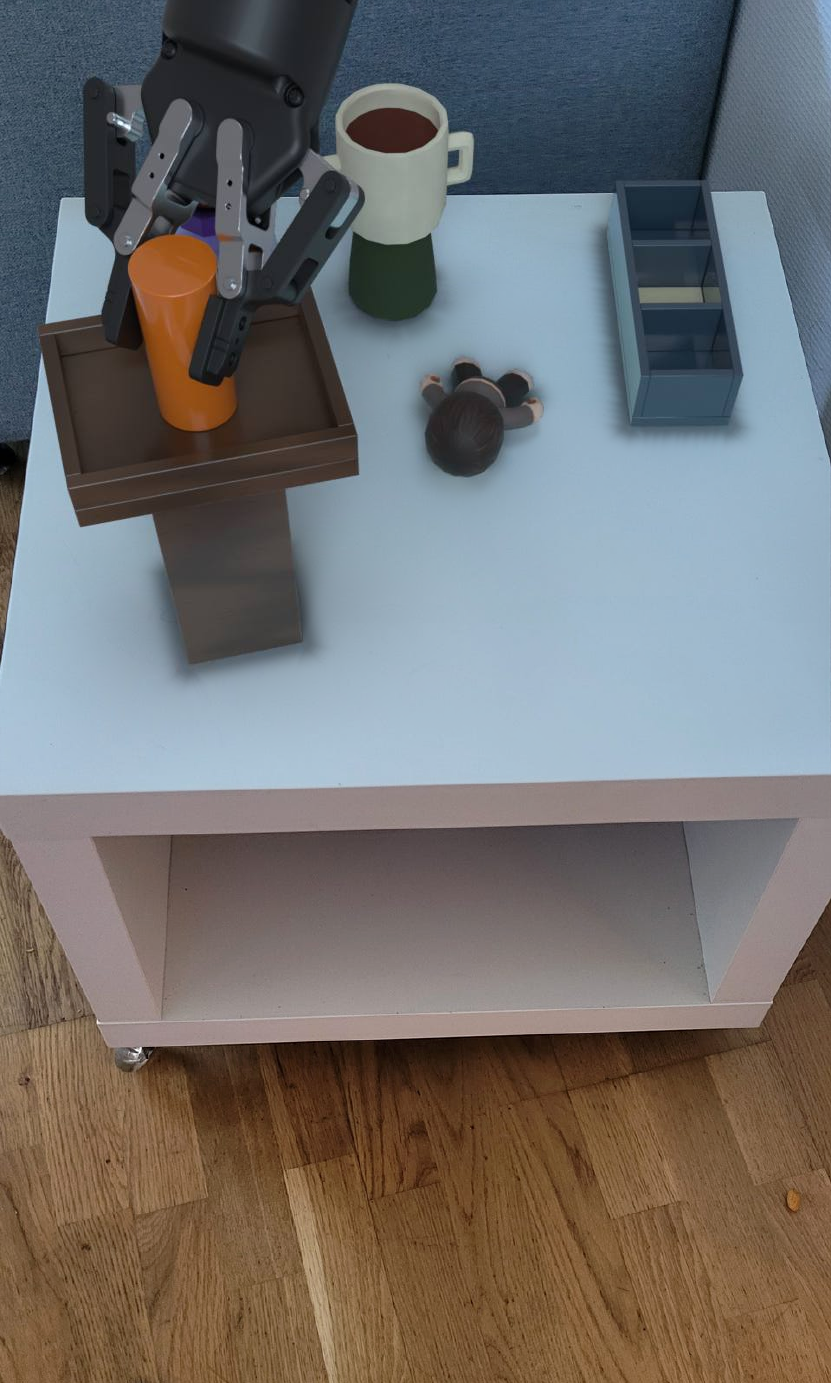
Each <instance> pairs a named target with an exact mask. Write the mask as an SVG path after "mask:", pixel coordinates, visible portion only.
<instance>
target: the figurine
mask: <svg viewBox="0 0 831 1383" xmlns="http://www.w3.org/2000/svg"><path fill="white" fill-rule="evenodd" d="M450 373H451V381H452V385H453V388H454V390H453V393H448V392H446V391H445V387H444V384H443V382H442V381H441V379H440V377H439V376H438V375H437V374H435V373H429V374H426V375H424V377H423V378H422V379H421V381H420V383H419V393H420V395H421V397H422V398H423V400H424V401H425V403H426V404H427V406H429V407H430V408H431V409H432V411H431V413H430V415H429V416H428V420H427V423H426V426H425V429H424V440H425V441H424V442H425V448H426V451H427V454H428V455H429V457H430V459H431V461H432V462H433V464H434V465H435V466H437V467H438V468H439V469H440V470H441V471H443V472H444V473H445V474H448V475H450V476H453V477H459V478H471V477H474V476H477V475H480V474H482V473H484V472H486V471H487V470H488V469H489V468H490V467H491V466H492V465H493V464H494V463H495V461H497V458H498V456H499V454H500V452H501V451H500V450H501V448H502V445H503V443H504V438H505V436H504V435H505V431H511V430H517V429H522V428H526V427H529V426H532V425H534V424H537V423H539V421H540V420H541V419H542V417H543V415H544V405H543V402H542V400H541V399H539V397H538V398H537V397H531V398H529V400H528V401H523V400H524V399H525V398H526V397H527V396H528V394H530V392H531V391H532V389H533V388H534V387H535V382H534V377H533V375H532V374H530V373H529V372H528V371H527V370H525V369H520V368H513V369H510V370H508V371H506V372H505V373H504V374H503V375H502V376H501V377H499V379H497V380H496V381H495V380H494V379H491V378H489V377H487V376H484V374H483V371H482V367H481V365H480V363H479V362H478V361H477V360H476V359H474V357H473V358H472V357H469V356H460V357H457V358H455V359H454V361H453V363H452V366H451V370H450ZM522 401H523V402H522ZM521 402H522V403H521ZM520 403H521V405H519V406H518V404H520Z"/></svg>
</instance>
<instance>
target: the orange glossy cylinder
mask: <svg viewBox="0 0 831 1383" xmlns="http://www.w3.org/2000/svg"><path fill="white" fill-rule="evenodd" d="M128 274H129V279H130V283H131V288H132V292H133V296H134V301H135V305H136V310H137V314H138V319H139V323H140V328H141V332H142V337H143V341H144V346H145V350H146V355H147V359H148V364H149V368H150V373H151V377H152V382H153V386H154V390H155V395H156V399H157V404H158V408H159V411H160V413H161V415H162V417H163V418H164V419H165V420H166V421H167V422H168V423H169V424H171V425H172V426H174V427H176V428H179V429H182V430H186V431H206V430H210V429H213V428H216V427H218V426H220V425H222V424H223V423H225V422H226V421H227V420H228V419H229V418H230V417H231V416H232V415H233V414H234V412H235V410H236V407H237V403H238V395H237V389H236V382H235V375H234V373H233V375H232V376H231V377H230V378H228V377H224V380H223V382H222V383H221V384H220V385H219V386H218V387H216V386H211V385H206V384H202V383H200V382H198V381H196V380H193V379H191V378H190V377H189V373H188V371H189V366H190V362H191V359H192V355H193V352H194V348H195V345H196V341H197V338H198V334H199V331H200V327H201V324H202V320H203V316H204V313H205V309H206V306H207V302H208V299H209V296H210V295H213V296H216V297H218V293H219V291H218V287H217V279H218V262H217V257H216V255H215V253H214V251H213V250H212V249H211V247H210V246H209V245H207V244H206V243H205V242H203V241H201V240H199V239H197V238H195V237H192V236H188V235H180V234H171V235H164V236H159V237H156V238H153V239H151V240H148V241H147V242H145V243H143V244H142V245H140V246H139V247H138V248H137V249H136V250H135V251H134V252H133V254H132V255H131V257H130V260H129V263H128Z"/></svg>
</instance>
